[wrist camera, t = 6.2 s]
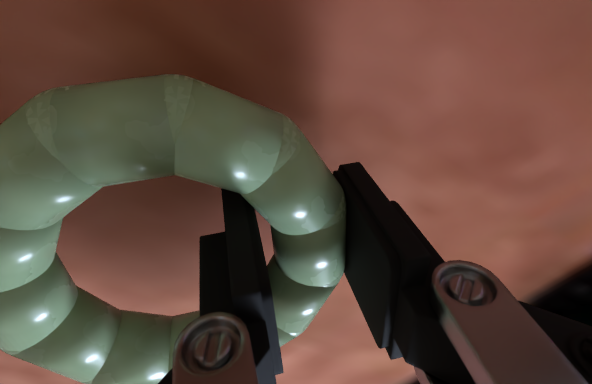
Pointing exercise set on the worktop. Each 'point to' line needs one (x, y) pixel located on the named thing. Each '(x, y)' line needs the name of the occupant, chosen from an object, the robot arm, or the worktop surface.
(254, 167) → the ring
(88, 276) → the worktop surface
